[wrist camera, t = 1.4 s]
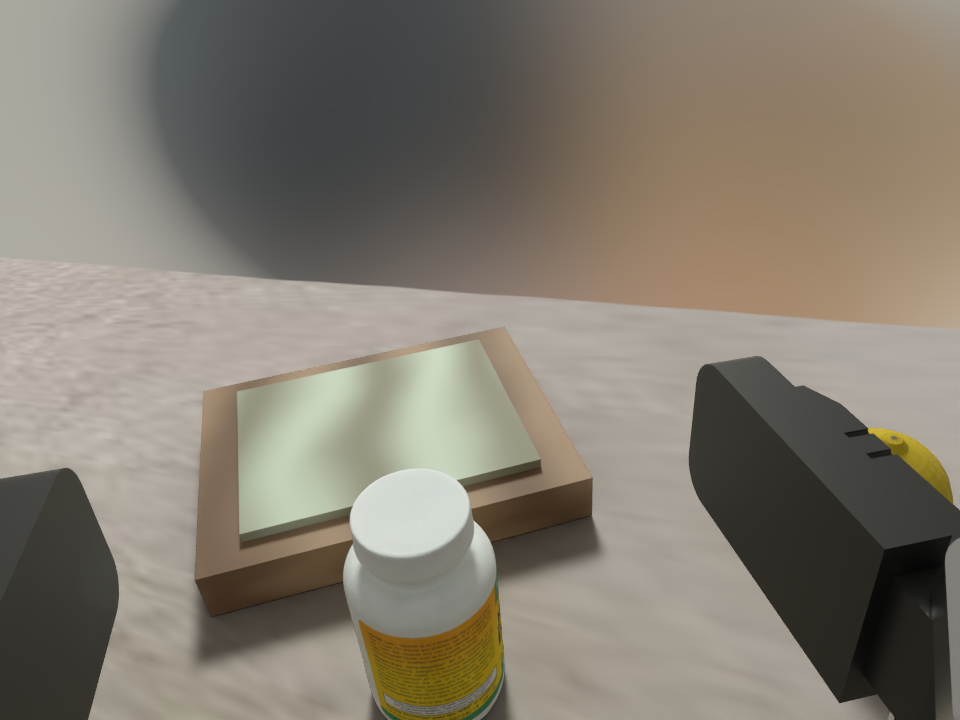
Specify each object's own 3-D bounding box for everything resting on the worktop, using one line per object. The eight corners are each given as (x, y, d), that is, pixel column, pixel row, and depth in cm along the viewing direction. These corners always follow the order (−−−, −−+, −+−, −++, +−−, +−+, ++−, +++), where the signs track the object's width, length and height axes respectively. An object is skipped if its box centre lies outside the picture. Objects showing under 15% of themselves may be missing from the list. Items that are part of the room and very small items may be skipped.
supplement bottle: (351, 660, 31) (302, 494, 26) (463, 598, 33) (440, 432, 28) (410, 772, 27) (367, 604, 22) (533, 694, 29) (522, 523, 24)
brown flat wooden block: (506, 360, 48) (503, 319, 46) (591, 515, 37) (592, 469, 35) (215, 424, 45) (200, 384, 43) (211, 616, 33) (191, 572, 32)
